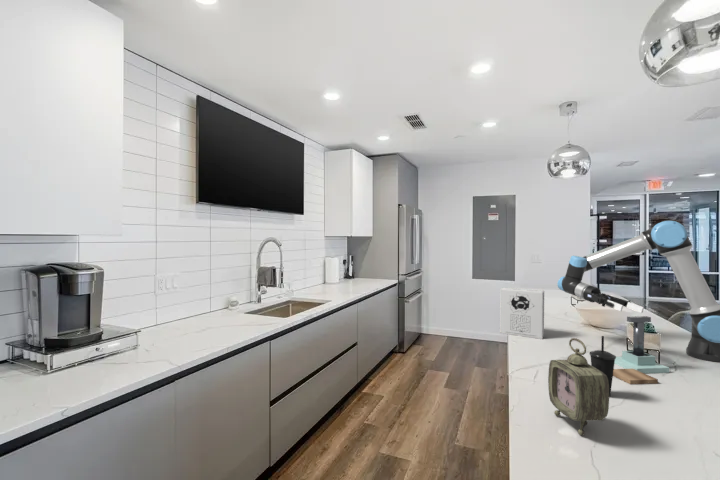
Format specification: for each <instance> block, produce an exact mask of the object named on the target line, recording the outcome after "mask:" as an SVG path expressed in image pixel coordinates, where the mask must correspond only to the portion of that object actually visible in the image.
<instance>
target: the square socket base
mask: <svg viewBox="0 0 720 480" xmlns="http://www.w3.org/2000/svg"><path fill="white" fill-rule="evenodd" d="M630 353H633V350H622V352H621V356H616V359H615V363H614V365H617V366H619V367H621V368H622V369H635V370H637V371H640V372H642V373H644V374H663V373H664V374H665V373H666V374H667V373H668V374H669V373H670V367H669V366H666V365H664V364H661V363H658V362H656V356H655V355H652V354H650V353H646V352H644V355H646V356H636V355H633V354H630Z"/></svg>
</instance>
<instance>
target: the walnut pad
mask: <svg viewBox="0 0 720 480" xmlns="http://www.w3.org/2000/svg"><path fill="white" fill-rule="evenodd" d="M613 378H617V379H618V380H621V381H623V382H624V383H627V384H629V385H649V384H655V385H656V384H659V383H658V382H659V380H658V378H656V377H653V376H651V375H648V374H647V373H642V372H640V371H637V370H635V369H626V368H614V370H613Z"/></svg>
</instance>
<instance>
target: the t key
mask: <svg viewBox="0 0 720 480" xmlns="http://www.w3.org/2000/svg"><path fill="white" fill-rule="evenodd" d="M626 322H628V323H633V325H632V326H633V330H632V331H633V333H632V334H633V336H632V337H633V339H632V340H633V341H632V351H633V353H630V354H633V355H636V356H646V355H644V353H645V323H652V317H651V316H646V315H645V316H644V315H643V316H641V315H640V316H639V315H637V316H626Z"/></svg>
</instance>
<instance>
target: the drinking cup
mask: <svg viewBox="0 0 720 480" xmlns="http://www.w3.org/2000/svg"><path fill="white" fill-rule="evenodd" d="M604 346H605V337H604V336H603V335H601V347H600V348H601V349H600V350H599V349H598V350H592V351H590V352H589V355H590V365H591V366H593V367H595V368H596V369H598V370H600V371H602V372H603V373H604V374H605V375H606V376H607V378H608V383H609V397H610V396H611V395H612V394H611V392H612V386H613V378H614V376H613V370H614V369H615V364H614V363H615V359H616V357H617V356H616V355H615V354H613V353H611V352H609V351H606V350H605V349H604V348H605V347H604Z"/></svg>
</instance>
